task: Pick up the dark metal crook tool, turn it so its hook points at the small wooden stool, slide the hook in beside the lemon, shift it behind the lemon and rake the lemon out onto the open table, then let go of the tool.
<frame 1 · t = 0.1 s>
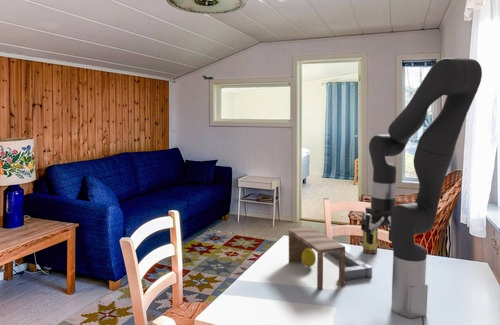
hand: (380, 242, 125), 17 cm above the table, tool pointing down, fingers open, 8 cm apart
small wooden stool: (314, 273, 142), on the table
crook tool: (338, 258, 158), on the table
lemon: (308, 267, 148), on the table
sauce bottle: (369, 252, 165), on the table
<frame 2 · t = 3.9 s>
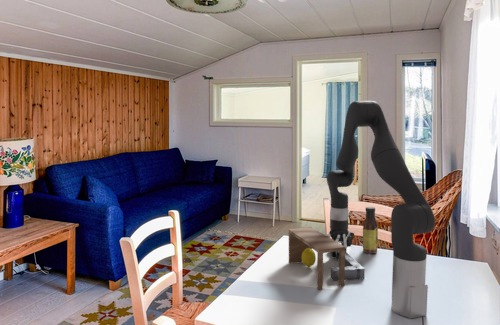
hand: (338, 256, 158), 0 cm above the table, tool pointing down, fingers open, 4 cm apart
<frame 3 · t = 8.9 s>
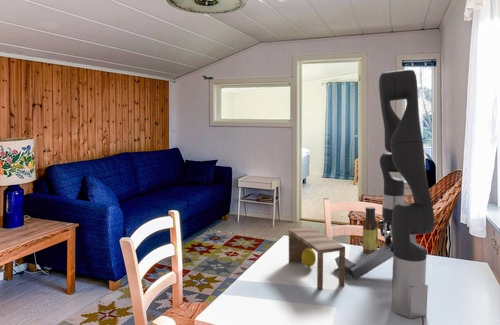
hand: (391, 250, 142), 9 cm above the table, tool pointing down, fingers closed on crook tool, 3 cm apart
crook tool: (398, 250, 143), point 8 cm above the table, tilted 22°, touching gripper
everything else where it was.
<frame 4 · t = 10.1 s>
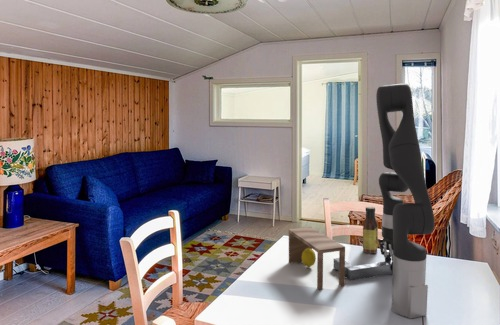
hand: (391, 268, 142), 1 cm above the table, tool pointing down, fingers closed on crook tool, 3 cm apart
crook tool: (396, 271, 143), on the table, touching gripper
everything else where it was.
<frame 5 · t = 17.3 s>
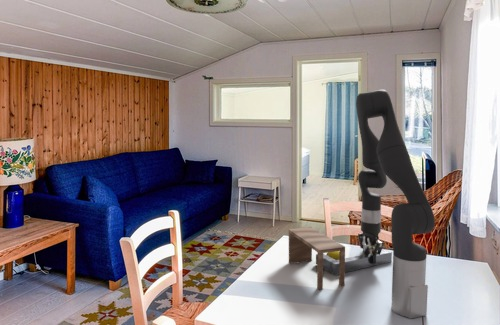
hand: (369, 261, 149), 1 cm above the table, tool pointing down, fingers closed on crook tool, 3 cm apart
crook tool: (374, 263, 151), on the table, touching gripper, lemon
lemon: (326, 257, 149), point 3 cm above the table, touching crook tool
everything else where it was.
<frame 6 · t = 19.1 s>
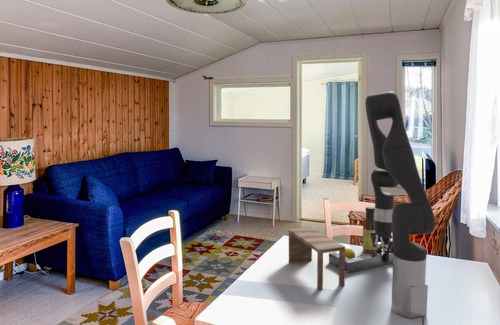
hand: (382, 260, 151), 1 cm above the table, tool pointing down, fingers closed on crook tool, 3 cm apart
crook tool: (387, 261, 152), on the table, touching gripper, lemon
lemon: (339, 256, 151), point 3 cm above the table, touching crook tool
everything else where it was.
when the fingers open (1 cm above the table, at t = 19.1 s): crook tool stays where it is, on the table.
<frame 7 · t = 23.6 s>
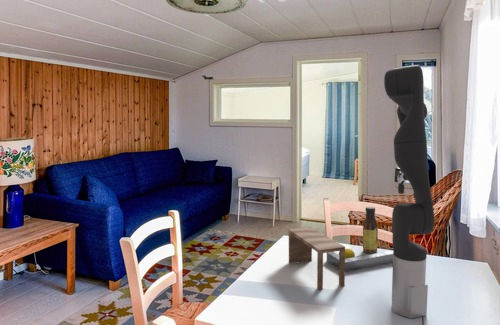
hand: (408, 195, 147), 28 cm above the table, tool pointing down, fingers open, 8 cm apart
crook tool: (385, 262, 152), on the table
lemon: (338, 257, 151), point 3 cm above the table
everything else where it was.
at the end: lemon inside the target area (3.9 cm from its centre), point 2.8 cm above the table; lemon moved 13.4 cm from its start; the gripper is holding nothing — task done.
